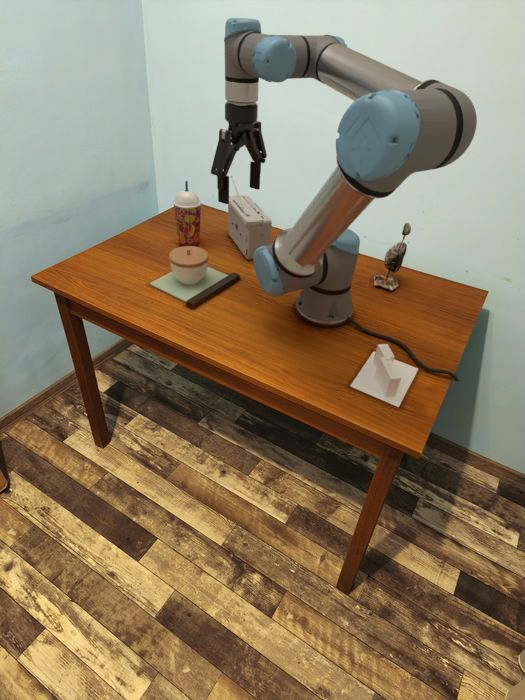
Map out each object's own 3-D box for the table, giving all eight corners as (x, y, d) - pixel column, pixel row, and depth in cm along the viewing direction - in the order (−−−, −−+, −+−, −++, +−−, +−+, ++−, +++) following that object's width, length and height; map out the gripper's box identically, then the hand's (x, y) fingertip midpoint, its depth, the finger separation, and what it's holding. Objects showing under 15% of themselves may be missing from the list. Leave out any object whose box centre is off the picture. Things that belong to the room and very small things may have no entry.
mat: (229, 277, 133) (229, 275, 133) (186, 303, 122) (186, 301, 121) (193, 261, 139) (193, 259, 139) (149, 284, 128) (149, 283, 127)
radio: (270, 259, 143) (275, 196, 130) (245, 263, 140) (248, 199, 128) (247, 231, 158) (249, 172, 145) (224, 233, 155) (225, 174, 142)
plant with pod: (406, 279, 139) (425, 216, 126) (391, 294, 131) (409, 229, 119) (382, 270, 142) (398, 208, 130) (365, 284, 135) (381, 220, 122)
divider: (239, 279, 133) (240, 274, 132) (193, 309, 120) (192, 304, 119) (233, 276, 134) (233, 271, 133) (186, 305, 121) (186, 300, 120)
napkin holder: (399, 407, 97) (406, 388, 93) (349, 386, 101) (354, 367, 97) (418, 368, 107) (425, 349, 103) (372, 350, 111) (378, 332, 107)
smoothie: (174, 238, 150) (170, 177, 137) (199, 236, 152) (197, 175, 140) (178, 250, 144) (174, 187, 131) (204, 248, 146) (203, 185, 134)
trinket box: (216, 277, 132) (216, 247, 126) (192, 293, 125) (191, 262, 119) (187, 266, 136) (185, 236, 130) (162, 281, 129) (160, 250, 123)
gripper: (258, 93, 114) (254, 179, 127) (192, 107, 97) (196, 205, 110) (283, 97, 111) (277, 185, 124) (221, 113, 94) (221, 213, 107)
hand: (239, 195), depth 117 cm, fingers open, 13 cm apart
